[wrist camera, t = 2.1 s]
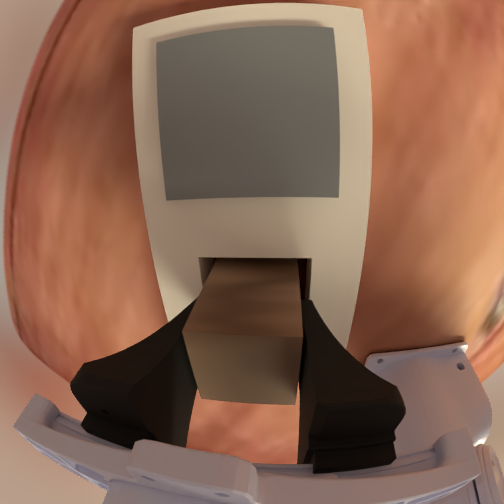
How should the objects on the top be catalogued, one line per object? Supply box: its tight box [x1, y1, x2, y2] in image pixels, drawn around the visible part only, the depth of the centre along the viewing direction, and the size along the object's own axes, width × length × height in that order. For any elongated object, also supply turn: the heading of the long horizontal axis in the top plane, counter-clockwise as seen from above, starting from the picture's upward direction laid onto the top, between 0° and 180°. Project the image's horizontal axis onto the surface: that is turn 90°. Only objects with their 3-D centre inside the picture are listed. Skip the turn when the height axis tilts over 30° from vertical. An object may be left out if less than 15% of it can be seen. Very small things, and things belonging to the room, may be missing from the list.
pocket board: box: [132, 3, 372, 381], centre depth 13 cm, size 10×20×2 cm, turn 3°
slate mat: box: [156, 26, 340, 201], centre depth 9 cm, size 7×7×1 cm
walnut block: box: [182, 257, 303, 405], centre depth 13 cm, size 4×4×7 cm
